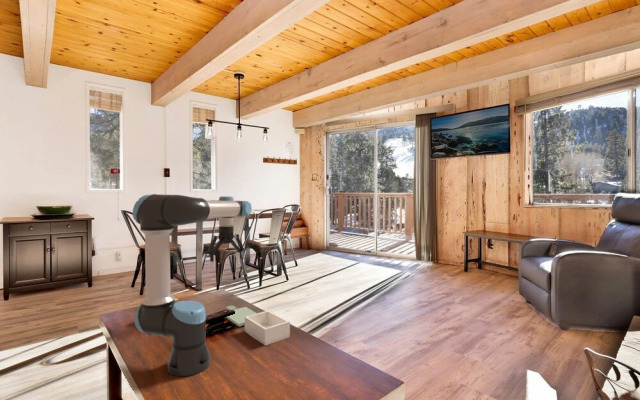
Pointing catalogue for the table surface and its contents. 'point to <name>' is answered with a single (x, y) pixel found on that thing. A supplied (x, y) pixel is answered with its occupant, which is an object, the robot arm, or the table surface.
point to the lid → (239, 315)
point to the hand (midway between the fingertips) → (225, 266)
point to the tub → (267, 327)
